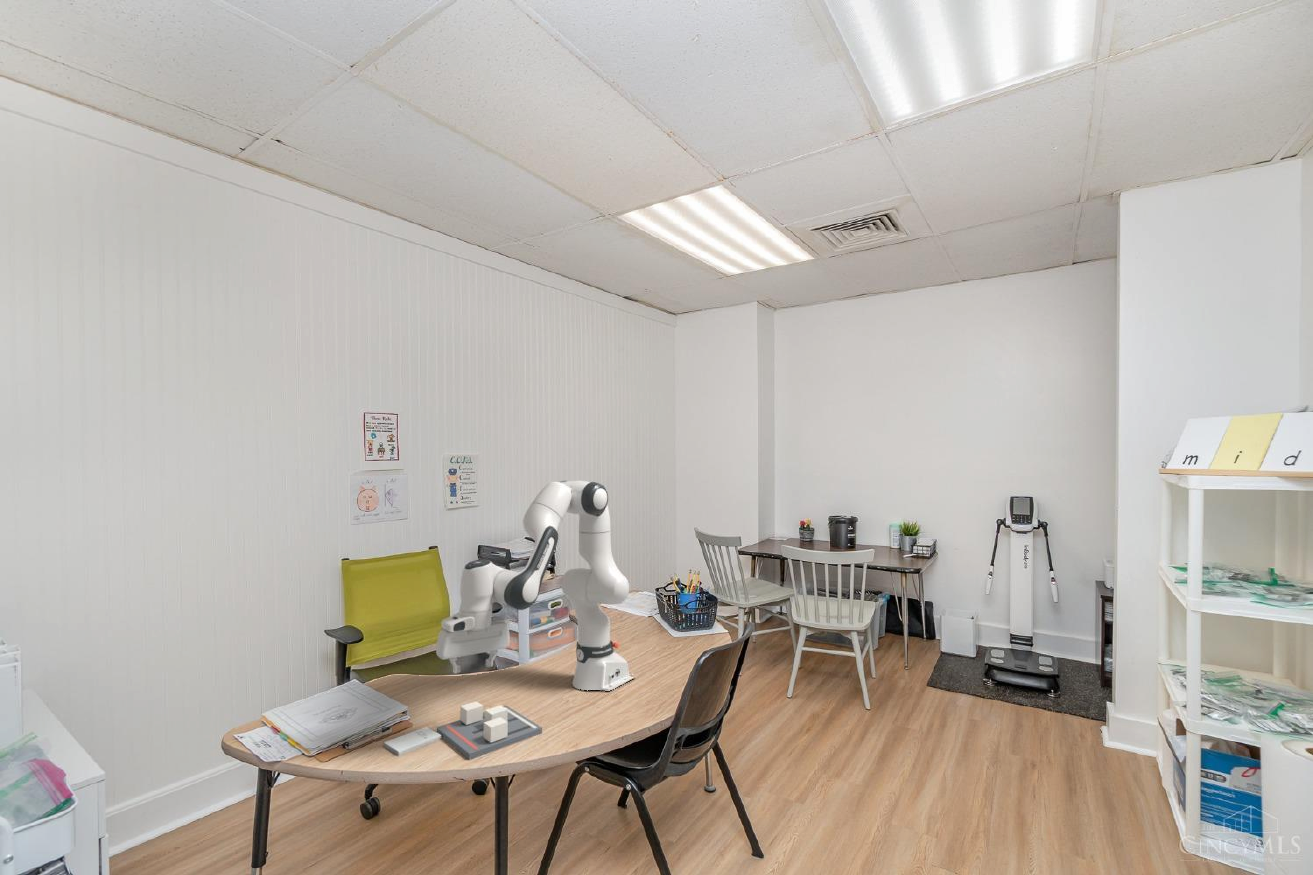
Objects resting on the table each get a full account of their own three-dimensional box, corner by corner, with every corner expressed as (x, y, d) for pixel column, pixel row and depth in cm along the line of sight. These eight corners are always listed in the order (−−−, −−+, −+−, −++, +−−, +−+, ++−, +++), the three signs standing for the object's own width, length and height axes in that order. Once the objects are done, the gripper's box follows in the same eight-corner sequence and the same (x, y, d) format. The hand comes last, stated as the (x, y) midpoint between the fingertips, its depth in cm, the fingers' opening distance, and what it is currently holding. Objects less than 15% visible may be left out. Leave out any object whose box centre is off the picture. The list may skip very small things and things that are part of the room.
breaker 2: (500, 731, 166) (500, 717, 166) (507, 736, 163) (507, 721, 163) (483, 737, 162) (483, 722, 163) (490, 742, 160) (491, 727, 160)
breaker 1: (476, 714, 176) (476, 701, 176) (482, 719, 173) (483, 705, 173) (460, 720, 173) (460, 706, 173) (466, 724, 170) (466, 710, 170)
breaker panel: (506, 710, 184) (506, 705, 184) (542, 732, 170) (542, 727, 170) (436, 732, 169) (436, 726, 169) (469, 759, 154) (469, 753, 154)
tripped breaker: (500, 718, 174) (500, 704, 174) (507, 723, 171) (507, 709, 171) (484, 724, 170) (484, 709, 170) (491, 728, 167) (491, 714, 167)
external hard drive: (382, 747, 161) (425, 731, 171) (398, 757, 156) (441, 740, 165) (383, 741, 161) (425, 725, 171) (398, 751, 156) (441, 734, 165)
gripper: (504, 611, 176) (502, 659, 176) (435, 621, 163) (432, 673, 162) (514, 616, 171) (512, 665, 171) (443, 627, 158) (441, 680, 158)
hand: (473, 669), depth 166 cm, fingers open, 8 cm apart
